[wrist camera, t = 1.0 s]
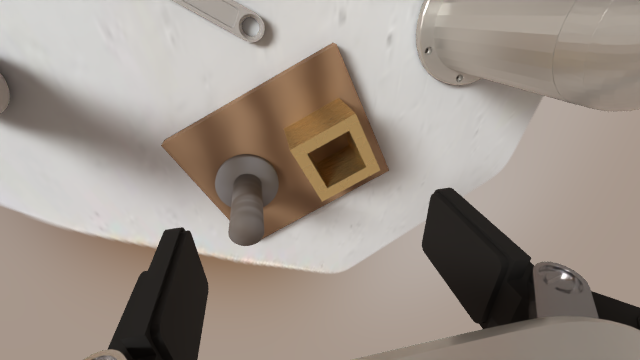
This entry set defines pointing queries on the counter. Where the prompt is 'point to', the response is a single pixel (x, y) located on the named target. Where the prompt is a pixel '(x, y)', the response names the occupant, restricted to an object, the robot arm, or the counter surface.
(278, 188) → the shaft board
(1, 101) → the plastic bottle
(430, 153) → the counter surface
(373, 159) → the brass collar
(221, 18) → the adjustable wrench
